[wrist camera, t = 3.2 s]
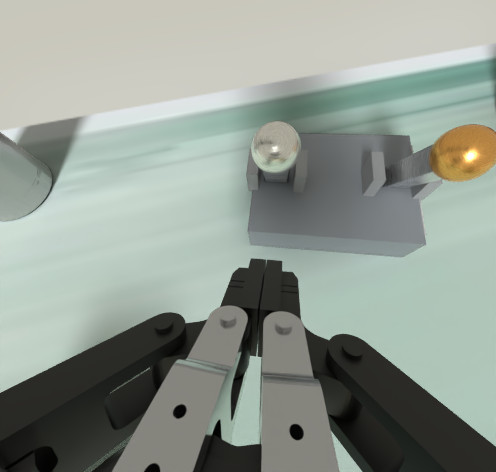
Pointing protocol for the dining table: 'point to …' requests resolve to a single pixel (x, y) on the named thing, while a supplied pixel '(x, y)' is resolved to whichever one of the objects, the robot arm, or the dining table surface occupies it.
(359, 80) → the dining table surface
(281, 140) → the lever white
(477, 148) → the lever orange
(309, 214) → the console
